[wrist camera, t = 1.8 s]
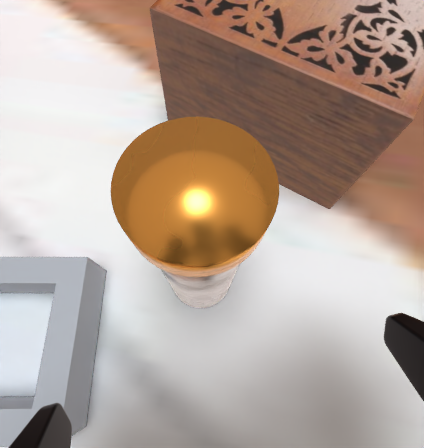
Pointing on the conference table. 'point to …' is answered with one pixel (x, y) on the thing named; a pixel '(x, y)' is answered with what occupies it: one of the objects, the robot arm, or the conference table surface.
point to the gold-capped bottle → (195, 202)
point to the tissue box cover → (297, 78)
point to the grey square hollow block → (57, 336)
